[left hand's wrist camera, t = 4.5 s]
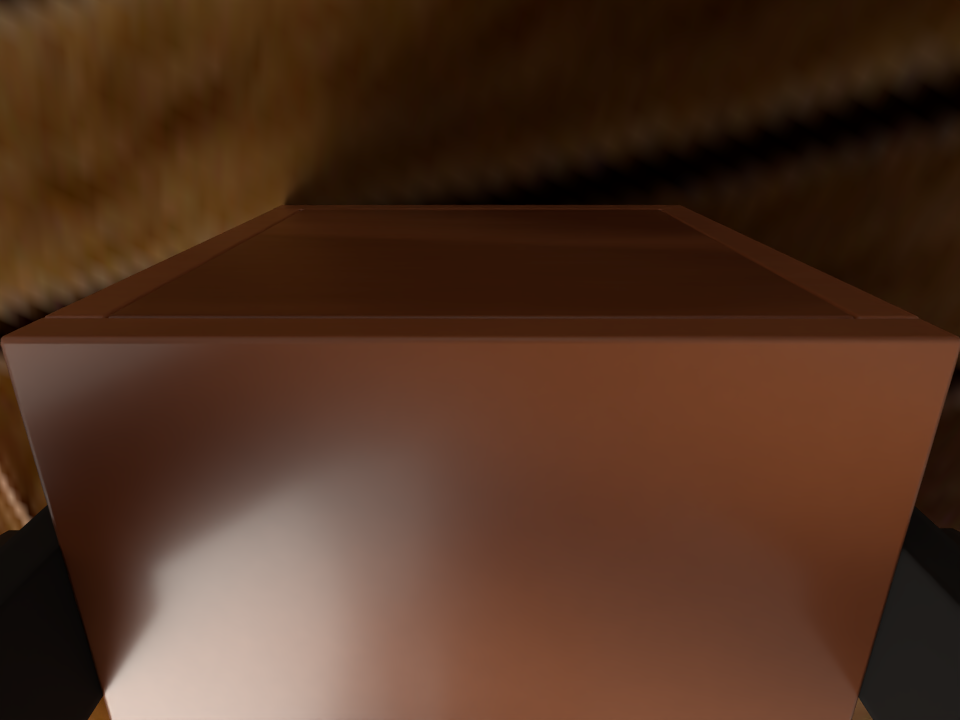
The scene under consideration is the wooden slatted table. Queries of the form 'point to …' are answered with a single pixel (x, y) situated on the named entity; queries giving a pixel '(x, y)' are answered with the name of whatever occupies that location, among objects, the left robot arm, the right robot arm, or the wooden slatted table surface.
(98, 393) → the cabinet
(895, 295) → the wooden slatted table surface
